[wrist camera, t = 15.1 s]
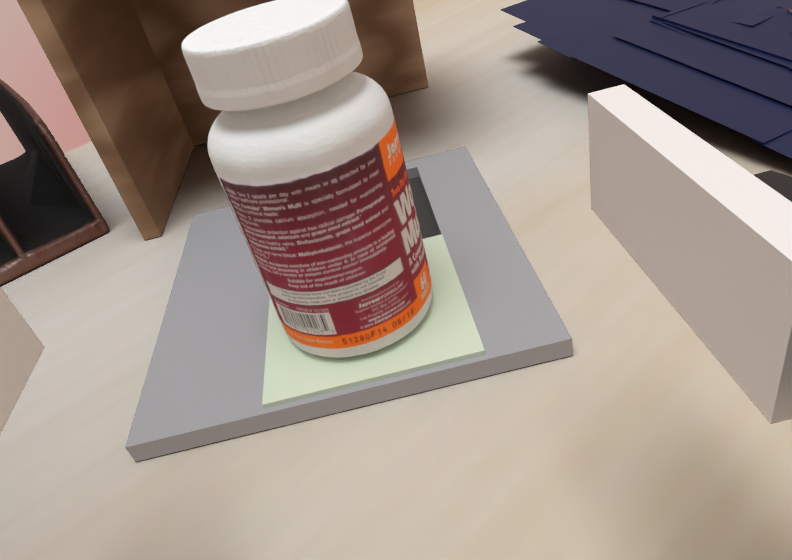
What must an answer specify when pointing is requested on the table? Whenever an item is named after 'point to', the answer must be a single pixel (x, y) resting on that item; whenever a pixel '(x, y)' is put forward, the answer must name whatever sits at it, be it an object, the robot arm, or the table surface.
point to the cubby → (177, 80)
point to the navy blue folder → (684, 54)
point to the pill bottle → (313, 173)
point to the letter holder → (39, 197)
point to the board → (344, 376)
